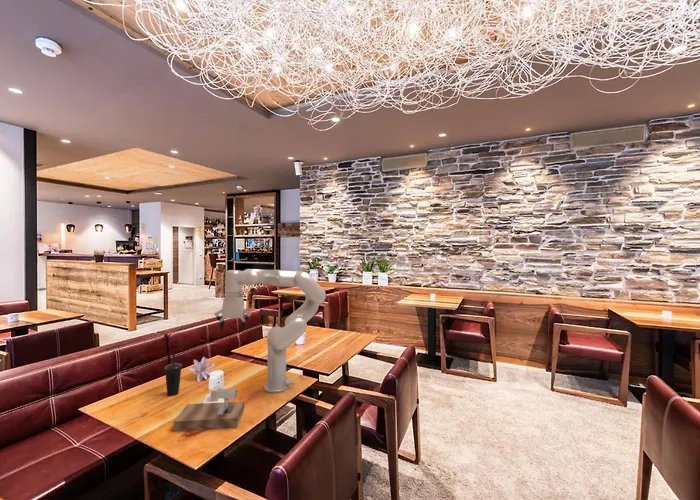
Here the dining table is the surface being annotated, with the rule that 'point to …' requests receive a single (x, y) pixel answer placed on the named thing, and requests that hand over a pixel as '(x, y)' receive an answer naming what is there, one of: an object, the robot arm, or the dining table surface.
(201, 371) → the water lily
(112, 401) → the dining table surface
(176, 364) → the drinking cup
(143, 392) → the dining table surface
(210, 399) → the cover
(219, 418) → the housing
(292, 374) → the dining table surface
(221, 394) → the latch
